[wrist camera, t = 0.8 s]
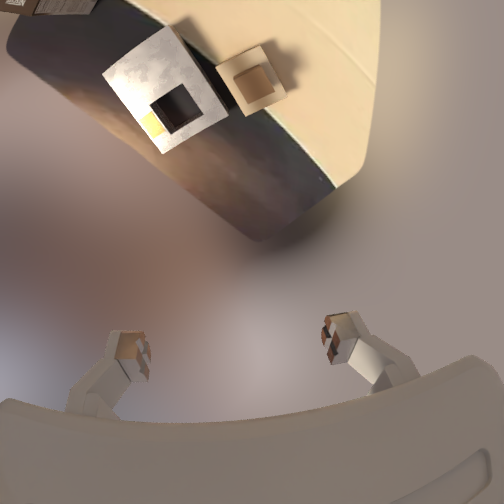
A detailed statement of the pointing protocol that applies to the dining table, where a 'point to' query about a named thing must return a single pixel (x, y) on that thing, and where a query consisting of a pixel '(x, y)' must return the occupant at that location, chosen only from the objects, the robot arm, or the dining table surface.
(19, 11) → the coffee box
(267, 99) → the beige rectangular block
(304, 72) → the dining table surface
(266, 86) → the walnut block
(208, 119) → the plate
